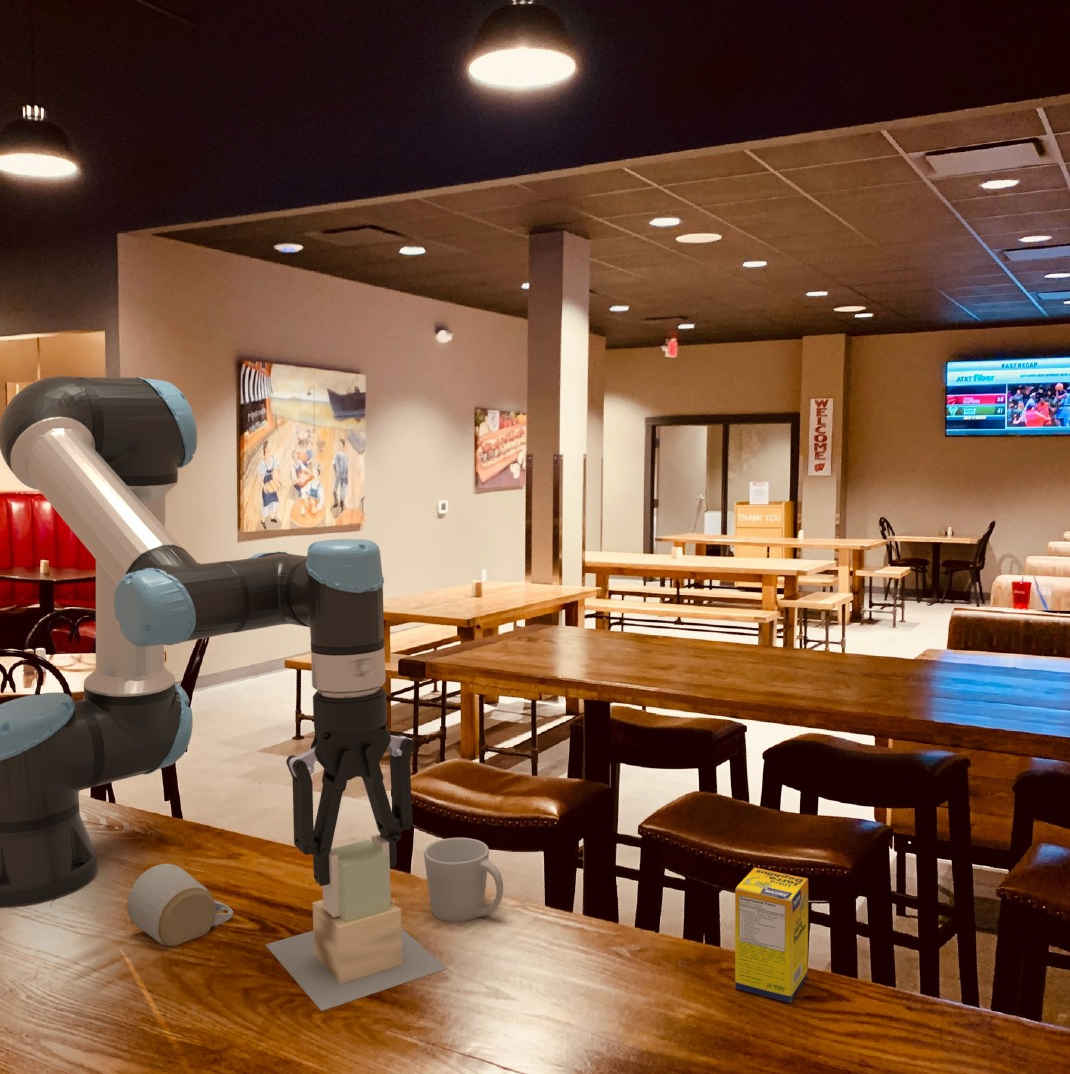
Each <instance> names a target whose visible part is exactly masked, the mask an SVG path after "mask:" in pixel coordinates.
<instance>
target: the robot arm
mask: <svg viewBox="0 0 1070 1074" xmlns="http://www.w3.org/2000/svg"><path fill="white" fill-rule="evenodd" d="M191 407H192V406H191V404H190V403H189V402H188V399H186V396H185V395H184V394H183V392H182V391H181V389H179V388H178V387H177V386H176V385H174V384H173V383H172V382H169V381H166V380H162V379H152V378H151V379H150V378H144V377H140V376H139V377H121V376H119V377H114V376H113V377H110V376H109V377H95V376H93V377H92V376H91V377H90V376H72V375H71V376H70V375H56V376H51V377H50V376H49V377H45V378H42V379H39V380H37V381H34V382H32V383H30V384H28V385H27V386H25V387H23V388H22V389H21V390H20V391H18V392H17V394H16V395H14V396H13V397H12V398H11V400H10V401H9V402H8V404H7V406H6V407H5V409H4V410H3V412H2V415H1V419H0V453H1V455H2V458H3V460H4V463H5V464H6V465H7V467H8V469H9V470H10V471H11V472H12V473H13V474H14V476H15V478H16V479H18V480H19V481H20V483H21V484H23V485H24V486H26V487H28V488H29V489H33V490H37V491H39V492H40V494H42V495H43V497H44V498H45V499H46V500H47V501H48V503H49V504H50V506H51V507H53V509H54V510H55V511H56V513H57V514H58V515H59V516H60V517H61V519H62V520H63V521H64V522H65V524H66V525H67V526H68V527H69V528H70V530H71V531H72V532H73V533H74V534H75V536H76V537H77V538H78V539H79V541H80V542H81V543H82V545H83V546H84V547H85V548H86V549H87V551H89V553H90V554H91V555H92V556H93V558H94V559H95V669H94V670H93V671H92V672H91V673H90V674H89V675H88V676H87V677H85V678H84V680H83V698H82V699H79V700H75V701H74V700H73V697H72V696H70V695H69V694H67V693H63V692H45V693H41V694H30V695H27V696H22V697H18V698H14V699H12V700H9V701H6V702H3V703H1V704H0V907H10V906H11V907H13V906H24V905H28V904H29V905H31V904H36V903H41V902H44V901H49V900H52V899H57V898H60V897H62V896H65V895H67V894H69V893H73V892H74V891H76V890H79V889H80V888H82V887H84V886H86V885H87V884H88V883H90V882H91V881H92V880H93V879H94V878H95V877H96V875H97V873H98V870H99V869H98V856H97V855H98V853H97V851H96V849H95V846H94V844H93V842H92V839H91V837H90V835H89V832H88V830H87V828H86V825H85V823H84V821H83V819H82V816H81V813H80V798H79V797H80V795H79V793H80V791H83V790H87V789H90V788H91V789H92V788H95V787H98V786H101V785H106V784H110V783H114V782H117V781H121V780H125V779H129V778H133V777H137V776H140V775H149V774H152V773H154V772H156V771H157V770H161V769H163V768H166V767H170V766H172V765H174V764H175V763H176V762H177V761H178V760H180V759H181V757H183V756H184V754H185V753H186V750H187V749H188V748H189V744H190V741H191V738H192V733H193V723H194V722H193V719H194V718H193V710H192V707H189V704H190V699H189V696H188V694H187V692H186V691H185V689H184V688H183V687H182V686H181V685H179V684H178V683H176V677H175V675H174V674H173V673H172V672H171V671H170V670H168V669H167V668H166V667H165V666H164V665H165V664H164V663H165V661H164V659H165V656H164V655H165V646H173V645H178V644H179V645H180V644H182V643H186V642H190V641H196V640H197V641H198V640H202V639H207V638H211V637H217V636H222V635H229V634H233V633H234V634H235V633H240V632H241V633H242V632H246V631H248V632H249V631H252V630H258V629H264V628H270V627H276V626H283V625H294V626H295V625H296V626H299V627H300V626H302V627H307V628H309V633H310V635H309V636H310V652H311V653H310V656H311V657H310V658H311V659H310V661H311V686H312V688H313V689H314V690H316V691H315V693H314V694H313V696H312V708H313V709H312V712H313V714H312V715H313V727H314V738H313V741H312V743H311V744H310V745H311V746H310V749H309V750H307V751H305V752H302V753H301V754H299V755H294V754H292V755H289V756H288V757H287V758H286V761H285V762H286V763H285V764H286V766H287V768H288V770H289V772H290V776H291V777H292V806H293V807H292V811H293V812H292V814H293V844H294V846H295V848H297V849H298V850H299V851H300V852H301V853H302V854H304V855H305V856H309V855H312V863H313V865H312V867H313V878H314V880H315V882H316V883H317V884H318V885H319V886H320V887H322V900H323V908H324V909H325V910H326V911H327V912H328V913H329V914H330V915H331V916H332V917H333V918H334V917H337V916H340V893H339V867H338V855H337V854H336V853H335V852H334V851H332V850H331V849H332V846H333V841H334V838H335V837H334V836H335V832H336V827H337V822H338V818H339V813H340V812H339V811H340V807H341V802H342V798H343V797H342V796H343V793H344V792H345V790H346V789H347V785H348V784H347V783H348V781H350V780H352V779H354V778H357V777H358V778H359V777H360V778H361V780H363V785H364V788H365V791H366V794H367V798H368V801H369V804H370V807H371V811H372V814H373V817H374V820H375V824H376V828H377V831H378V832H379V834H374V835H371V842H372V843H373V844H375V845H376V846H377V847H379V848H380V849H381V850H383V851H384V852H385V853H387V854H388V855H389V887H390V888H391V869H390V868H394V867H396V864H397V861H398V860H397V856H398V855H397V842H399V841H400V840H401V838H402V832H403V831H409V830H410V829H412V828H413V822H414V821H413V800H412V799H413V798H412V779H411V778H412V777H411V758H412V756H413V755H412V754H413V751H414V746H415V742H414V740H412V739H411V738H409V737H407V736H404V735H402V734H396V735H391V733H390V731H389V729H388V727H387V722H388V711H387V710H388V709H387V706H388V705H387V691H386V690H385V689H384V688H383V687H382V686H383V685H384V684H385V683H386V655H385V654H386V653H385V649H386V648H385V623H384V622H385V621H384V620H385V618H384V613H385V612H384V583H385V578H384V575H383V570H382V568H383V567H382V560H381V550H380V548H379V545H378V544H377V543H376V542H375V541H373V540H370V539H364V538H363V539H362V538H360V539H359V538H358V539H353V538H351V539H350V538H337V539H335V538H334V539H325V540H317V541H314V542H312V543H311V544H309V545H308V548H307V551H306V552H307V553H306V555H300V554H293V553H288V552H286V551H279V550H278V551H275V552H274V551H273V552H260V553H256V554H253V555H251V556H250V557H249V558H243V559H242V558H241V559H234V560H223V561H216V562H208V563H207V562H205V563H200V562H197V560H196V559H194V557H193V556H192V555H191V554H190V553H189V552H188V551H187V550H186V549H184V547H183V546H182V545H181V544H180V543H179V541H177V540H176V538H175V537H174V536H172V534H171V533H170V532H169V531H168V530H167V527H166V496H167V494H168V493H169V492H170V491H171V490H172V489H173V488H175V487H176V486H177V485H178V479H179V478H178V476H179V473H178V472H179V469H180V468H181V469H182V468H184V467H185V466H187V465H188V464H190V463H191V461H192V460H193V459H194V455H195V453H196V451H197V446H198V430H197V429H198V428H197V424H196V423H197V422H196V418H195V416H194V412H193V409H192V408H191ZM387 750H388V751H387ZM386 751H387V753H388V754H389V755H390V756H389V771H390V772H389V773H390V788H391V789H390V791H391V792H390V793H391V804H390V800H389V797H388V794H387V791H386V788H385V787H386V786H385V784H384V775H383V772H382V767H381V765H380V762H381V760H382V759H383V757H384V755H385V753H386ZM316 761H317V762H318V763H319V765H320V766H321V767H322V768H323V773H322V778H321V783H322V789H321V793H320V798H319V802H318V808H317V813H316V817H315V821H314V790H313V789H314V787H313V779H312V776H311V775H312V774H314V772H315V771H314V770H315V762H316ZM391 806H392V807H391ZM391 894H392V893H391V890H390V901H391V902H392V900H391V899H392V898H391V897H392V896H391Z"/></svg>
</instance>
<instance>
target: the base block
mask: <svg viewBox="0 0 1070 1074" xmlns="http://www.w3.org/2000/svg"><path fill="white" fill-rule="evenodd" d="M312 925H313V926H312V927H313V930H312V931H314V956H315V957H316V958H317V959H318V960H319V961H320V963H321V964H322V965H323V966H324V967H325V968H326V969H327V970H328V971H329V972H330V973H331V974H332V975H333V977H334V978H335V979H336V980H337V981H338V982H339V983H340V984H343V983H346V982H349V981H352V980H355V979H358V978H361V977H364V976H367V975H370V974H373V973H376V972H380V971H383V970H386V969H389V968H392V967H395V966H398V965H401V964H402V929H403V928H402V909H401V908H400V907H399V906H397V905H396V904H395V903H394V902H392V900H391V901H390V910H388V911H385V912H382V913H378V914H375V915H371V916H368V917H364V918H361V919H358V920H354V921H351V922H347V923H345V922H344V921H343V920H342V919H341V918H340V917H339V916H337V917H334V918H333V917H332V916H331V915H330V914H329V913H328V912H327V911H326V910H325V909H324V908H323V899H321V900H317V901H313V902H312ZM401 928H402V929H401Z"/></svg>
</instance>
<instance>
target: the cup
mask: <svg viewBox="0 0 1070 1074" xmlns="http://www.w3.org/2000/svg"><path fill="white" fill-rule="evenodd" d="M489 854H490V849H489V846H488V845H487V844H486V843H485V842H483V841H481V840H478V839H474V838H468V837H449V838H444V839H439V840H436V841H434V842H432V843H430V844H428V845H427V846H426V847H425V849H424V850H423V857H424V864H425V872H426V873H425V874H426V880H427V888H428V889H427V890H428V894H429V900H430V901H429V902H430V906H431V907H430V908H431V911H432V915H433V916H434V917H435V918H436V919H439V920H441V921H444V922H451V923H461V922H466V921H471V920H474V919H477V918H479V917H485V916H487V915H489V914H491V913H492V912H495V911H496V909H497V908H498V907H499V905H500V904H501V901H502V899H503V893H504V881H503V877H502V874H501V872H500V870H499V868H498V867H497V866H496V865H494V864H493V863H492V861H490V860H489ZM488 873H489V874H490V875H491V876H492V878H493V879H494V883H495V888H496V889H495V890H496V893H495V898H494V900H493V902H492V903H491V904H489V905H485V904H484V902H485V895H486V888H487V879H488V877H487V876H488Z"/></svg>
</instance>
